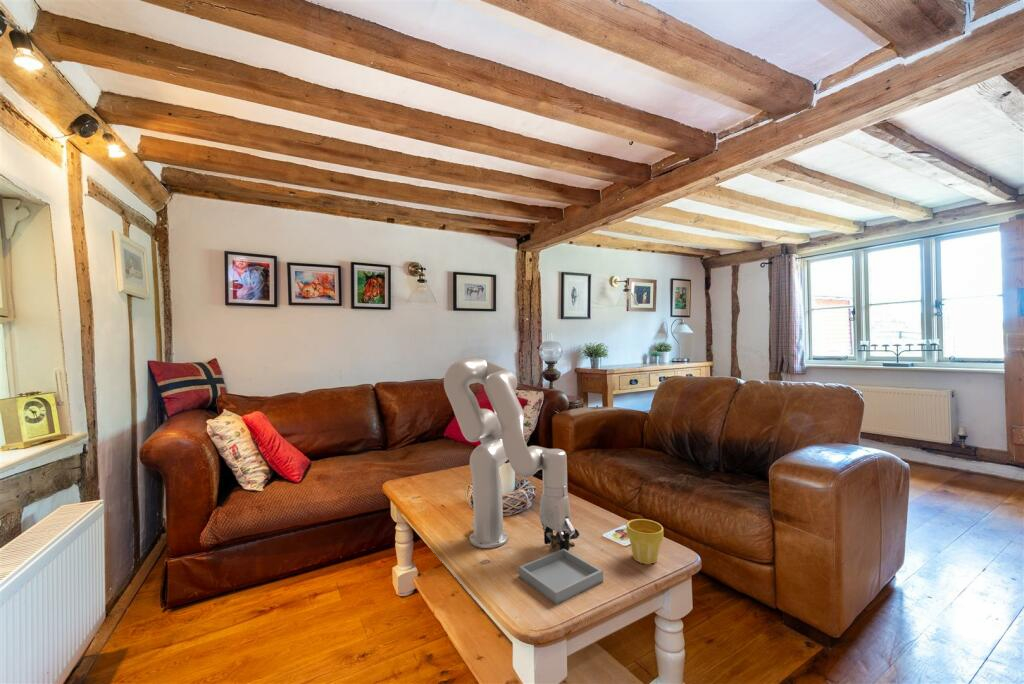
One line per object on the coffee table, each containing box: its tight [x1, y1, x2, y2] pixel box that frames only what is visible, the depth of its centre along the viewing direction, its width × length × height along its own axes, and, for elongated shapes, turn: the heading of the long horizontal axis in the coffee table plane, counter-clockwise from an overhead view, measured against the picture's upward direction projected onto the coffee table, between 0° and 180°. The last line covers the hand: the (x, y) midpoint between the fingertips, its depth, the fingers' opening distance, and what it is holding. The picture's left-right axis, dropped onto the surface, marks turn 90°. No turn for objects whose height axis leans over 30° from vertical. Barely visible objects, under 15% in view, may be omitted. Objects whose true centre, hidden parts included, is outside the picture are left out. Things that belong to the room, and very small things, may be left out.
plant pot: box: [626, 518, 664, 565], centre depth 128 cm, size 10×10×10 cm
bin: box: [518, 549, 604, 606], centre depth 119 cm, size 16×17×3 cm
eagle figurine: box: [546, 528, 580, 552], centre depth 136 cm, size 8×7×9 cm
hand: (556, 546), depth 135 cm, fingers closed on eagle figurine, 6 cm apart
